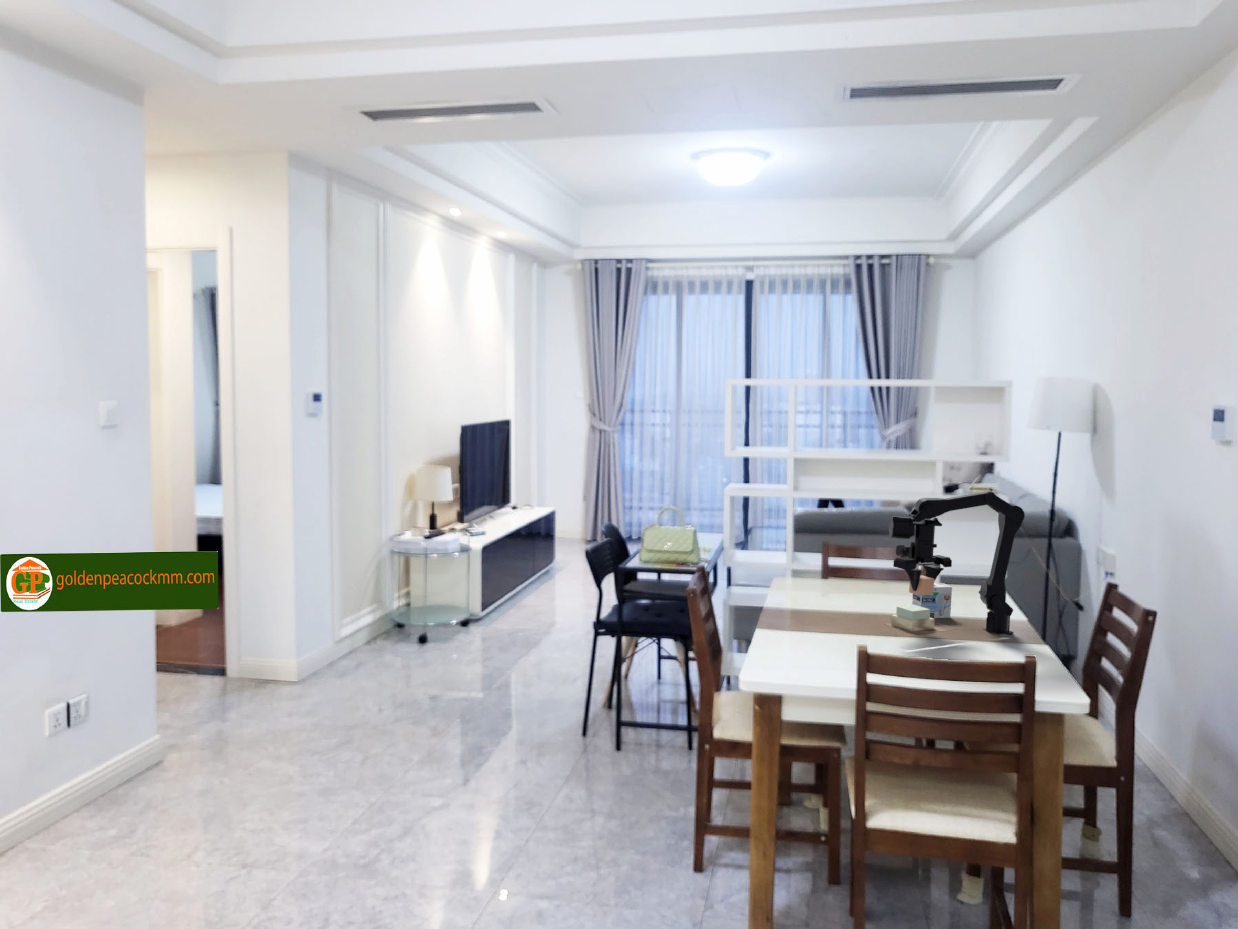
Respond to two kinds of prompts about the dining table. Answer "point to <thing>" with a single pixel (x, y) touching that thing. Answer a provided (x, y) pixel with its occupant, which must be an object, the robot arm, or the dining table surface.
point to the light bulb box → (936, 601)
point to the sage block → (913, 612)
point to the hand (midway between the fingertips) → (921, 590)
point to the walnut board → (937, 628)
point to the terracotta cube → (923, 586)
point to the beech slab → (912, 623)
